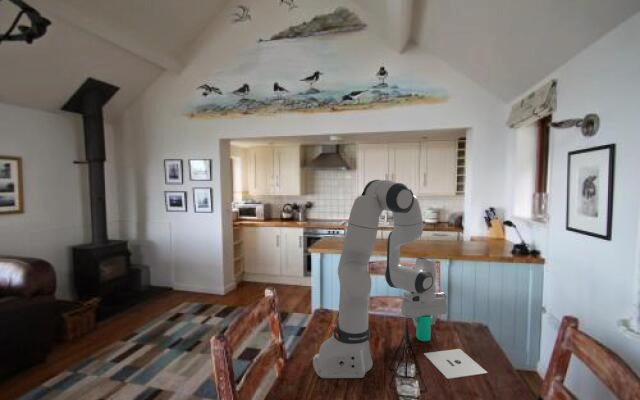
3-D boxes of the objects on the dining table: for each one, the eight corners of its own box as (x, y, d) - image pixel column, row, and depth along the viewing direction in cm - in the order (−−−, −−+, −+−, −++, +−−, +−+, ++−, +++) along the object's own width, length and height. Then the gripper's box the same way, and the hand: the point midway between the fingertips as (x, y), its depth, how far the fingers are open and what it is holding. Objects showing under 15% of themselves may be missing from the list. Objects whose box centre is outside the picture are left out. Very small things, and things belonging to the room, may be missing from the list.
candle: (431, 341, 134) (432, 314, 134) (417, 340, 135) (417, 313, 135) (429, 334, 140) (429, 308, 139) (415, 333, 141) (415, 307, 140)
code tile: (447, 379, 109) (447, 378, 109) (423, 354, 125) (423, 353, 125) (487, 373, 113) (487, 372, 112) (459, 349, 128) (459, 348, 128)
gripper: (442, 289, 142) (441, 319, 143) (400, 293, 138) (399, 323, 139) (450, 294, 136) (450, 325, 137) (406, 298, 132) (406, 330, 133)
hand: (424, 324), depth 138 cm, fingers open, 6 cm apart
